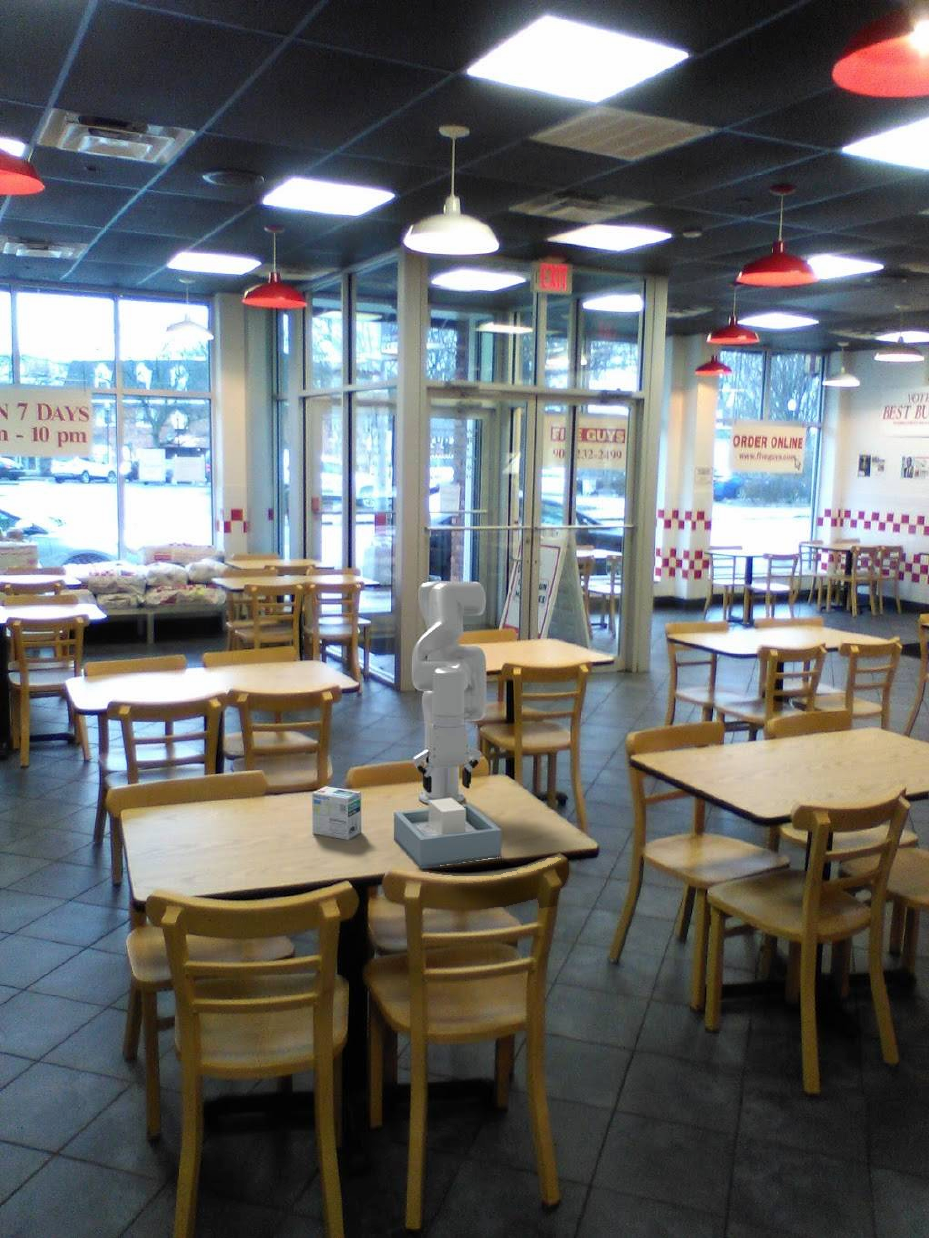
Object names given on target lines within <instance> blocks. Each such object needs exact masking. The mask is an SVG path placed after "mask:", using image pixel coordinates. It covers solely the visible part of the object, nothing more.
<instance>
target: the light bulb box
mask: <svg viewBox="0 0 929 1238" xmlns="http://www.w3.org/2000/svg"><path fill="white" fill-rule="evenodd" d="M311 798H312V799H311V800H312V807H311V809H312V810H311V811H312V834H313V835H314V834H316V835H320V836H325V837H330V838H335V839H340V840H347V841H349V840H350V839H352V838H354V837H356V836H358V835H359V834H361V833H362V791H360V790H358V791H357V790H350V789H345V788H337V787H331V786H328V785H325V786H323V787H321V788H320V789H317V790H316V791H315V790H314V791H313V792H312V793H311Z"/></svg>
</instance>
